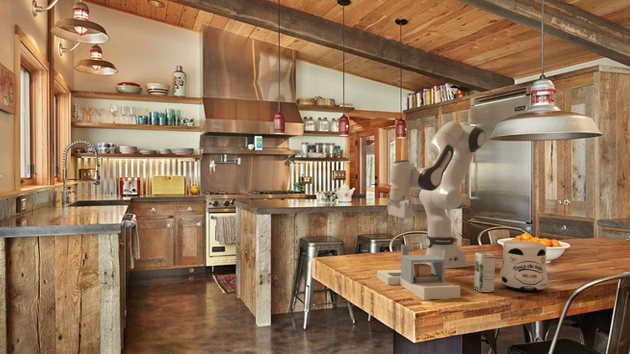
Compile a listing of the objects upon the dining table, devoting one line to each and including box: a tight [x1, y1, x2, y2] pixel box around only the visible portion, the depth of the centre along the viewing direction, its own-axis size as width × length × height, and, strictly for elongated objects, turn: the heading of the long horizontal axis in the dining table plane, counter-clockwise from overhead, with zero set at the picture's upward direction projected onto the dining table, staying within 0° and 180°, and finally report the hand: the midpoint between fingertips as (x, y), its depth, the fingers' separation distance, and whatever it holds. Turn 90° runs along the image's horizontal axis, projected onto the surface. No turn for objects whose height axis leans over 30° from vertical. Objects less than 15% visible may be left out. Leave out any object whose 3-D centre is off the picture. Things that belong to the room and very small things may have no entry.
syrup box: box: [473, 251, 496, 293], centre depth 171 cm, size 6×6×14 cm
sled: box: [400, 244, 439, 282], centre depth 182 cm, size 10×23×11 cm, turn 12°
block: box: [414, 263, 431, 276], centre depth 175 cm, size 5×5×6 cm
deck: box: [376, 269, 461, 301], centre depth 175 cm, size 19×36×4 cm, turn 12°
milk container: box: [499, 240, 549, 292], centre depth 176 cm, size 17×17×18 cm
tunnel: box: [400, 254, 446, 284], centre depth 175 cm, size 14×10×9 cm
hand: (399, 226), depth 198 cm, fingers closed
